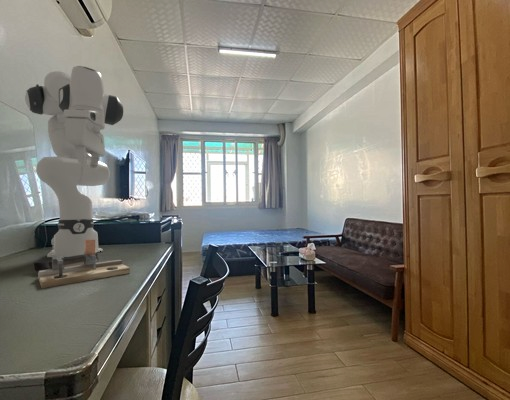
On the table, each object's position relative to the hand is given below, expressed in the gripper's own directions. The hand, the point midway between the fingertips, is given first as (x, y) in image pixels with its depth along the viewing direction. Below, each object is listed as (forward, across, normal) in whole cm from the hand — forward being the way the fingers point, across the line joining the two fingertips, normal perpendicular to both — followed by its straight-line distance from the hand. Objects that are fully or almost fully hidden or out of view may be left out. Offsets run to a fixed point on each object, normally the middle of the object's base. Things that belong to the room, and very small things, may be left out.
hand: (88, 166), depth 81 cm
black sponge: (+32, -8, -9) cm, 34 cm away
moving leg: (+30, +4, +2) cm, 30 cm away
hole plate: (+32, +5, +1) cm, 32 cm away
